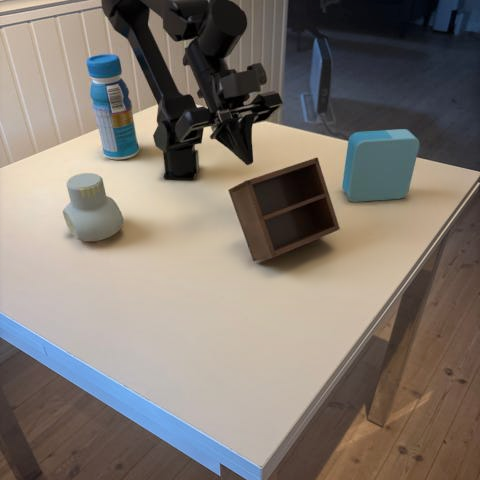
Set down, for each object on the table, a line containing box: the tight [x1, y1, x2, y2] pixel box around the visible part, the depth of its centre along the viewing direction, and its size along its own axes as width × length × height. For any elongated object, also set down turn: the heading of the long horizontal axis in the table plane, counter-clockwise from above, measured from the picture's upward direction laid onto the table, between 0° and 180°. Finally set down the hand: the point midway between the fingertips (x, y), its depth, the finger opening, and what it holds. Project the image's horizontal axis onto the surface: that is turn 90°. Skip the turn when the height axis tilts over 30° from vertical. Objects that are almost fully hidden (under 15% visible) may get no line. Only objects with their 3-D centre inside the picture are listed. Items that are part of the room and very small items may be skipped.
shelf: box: [227, 157, 341, 262], centre depth 78 cm, size 6×14×12 cm
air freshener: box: [62, 172, 125, 242], centre depth 84 cm, size 11×8×10 cm
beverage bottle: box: [86, 53, 140, 161], centre depth 106 cm, size 8×8×20 cm
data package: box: [341, 128, 420, 203], centre depth 92 cm, size 12×4×12 cm, turn 97°
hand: (250, 163), depth 81 cm, fingers closed
